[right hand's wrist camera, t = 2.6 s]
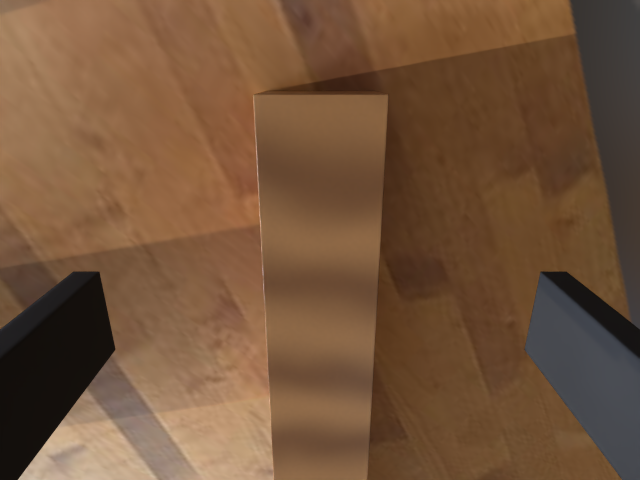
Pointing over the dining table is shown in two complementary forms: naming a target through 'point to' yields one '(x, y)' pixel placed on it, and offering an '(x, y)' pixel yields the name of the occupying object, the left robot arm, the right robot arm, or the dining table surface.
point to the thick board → (320, 273)
